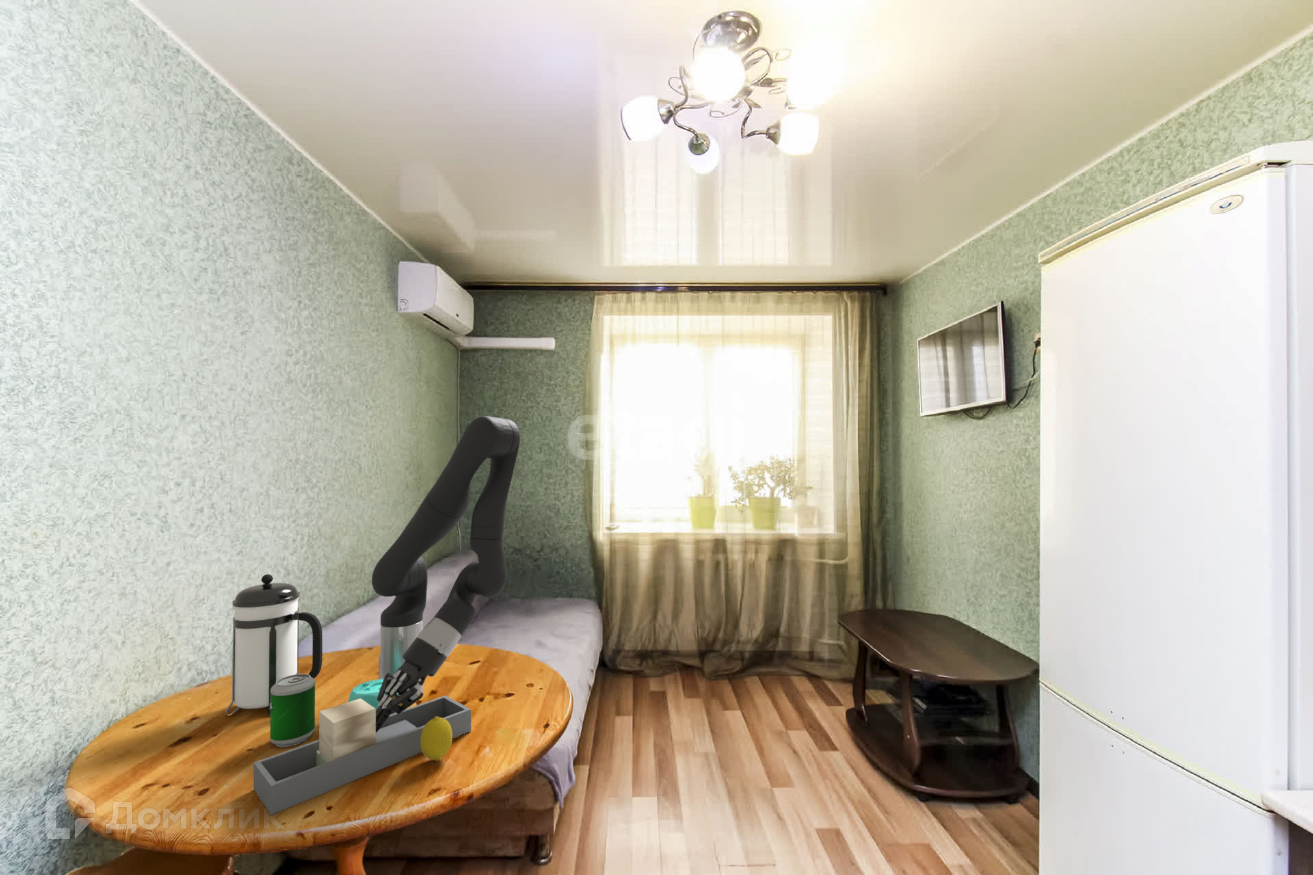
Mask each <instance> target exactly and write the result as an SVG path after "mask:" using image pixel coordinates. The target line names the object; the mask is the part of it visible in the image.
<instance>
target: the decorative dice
mask: <svg viewBox="0 0 1313 875" xmlns="http://www.w3.org/2000/svg"><path fill="white" fill-rule="evenodd" d="M383 680H384V679H379V678H378V679H373V680H372V679H371V680H367V681H364V682H361V683H359V684H357V685H356V686H354V687H353V688H352V689H351V691H350V694H349V697H348V701H347V702H350V701H354V700H357V699H360V698H361V699H362V700H364V701H365V702H366V703H368V704H369V705H371V706H372V707H374V708H375V709H376V710H377V709H378V707H379V706H378V704H379V701H378V700H377V697H378V694H379V691H380V688H381V686H382V683H383ZM397 694H398V693H397ZM384 695H385V694H384Z"/></svg>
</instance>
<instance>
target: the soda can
mask: <svg viewBox="0 0 1313 875" xmlns="http://www.w3.org/2000/svg"><path fill="white" fill-rule="evenodd" d="M308 674H309V673H298V674H296V675H290V676H287V677H284V678H281V679H279V680H278V681H277V682H276V684H275V685H273V686H272V688H271V700H270V715H269V716H270V720H269V721H270V722H269V724H270V726H269V741H270V742H271V743H272V744H273V745H275V746H276V747H277V746H278V747H277V748H290V747H294V746H298V745H300V744H302V743H305V742H306V741H308V739H310V737H311V736H312V734H313V733H314V732H315V730H316V713H315V712H316V679H315V678H312V677H310V675H308ZM301 742H302V743H301ZM299 743H300V744H299ZM297 744H298V745H297ZM293 745H294V746H293ZM289 746H290V747H289Z"/></svg>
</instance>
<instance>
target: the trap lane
mask: <svg viewBox="0 0 1313 875" xmlns="http://www.w3.org/2000/svg"><path fill="white" fill-rule="evenodd" d="M437 716H438V717H439V718H444V719H446V720H447V721H448V722H449V724H450V726H451V729H452V738H455V739H457V738H458V737H457V736H460V735H462V734H464V735H466V734H465V733H467V732H469V733H471V732H472V709H471V708H469V707H467V706H465V705H464V704H463V703H460V702H458V701H456V700H455V699H453V698H451V697H449V696H447V695H442V696H440V697H437V698H434V699H432V700H429V701H428V700H427V701H425V702H422V703H420V704H418V705H415V706H410V707H408V708H407V709H405V710H404V711H403V712H401V713H400V714H397V713H394V714H391V715H390V716H389V717H388V718H387V720H386V721H385V722H384V724H383V725H382V727H381V728H380V729H379V730H378V732H376V744H374V745H371V746H369V747H366V748H363V749H361V750H358V751H355V752H353V753H350V754H348V755H345V756H342V757H340V758H337V759H334V760H332V761H329V762H328V761H326V760H325V759H324V758H323V757H322V756H321V755H320V754H319V739H317V740H314V741H312V742H309V743H305V744H303V745H300V746H296V747H294V748H291V749H289V750H286V751H282V752H280V753H277V754H275V755H272V756H268V757H265V758H263V759H259V760H258V761H255V762H253V779H252V780H253V789H254V790H255V791H254V790H253V789H252V790H253V791H254V793H255V794H256V793H257V794H258V795H257V794H256V795H257V797H258V796H259V797H258V799H259V800H260V801H261V802H262V804H263V806H264V807H265V808H266V810H267V812H269V814H270V816H272V815H275V814H277V813H280V812H283V811H285V810H286V809H289V808H292V807H294V806H296V805H298V804H299V805H300V804H301V803H303V802H306V801H308V800H311V799H313V798H316V797H319V796H320V795H323V794H325V793H327V792H330V791H332V790H334V789H336V788H339V787H342V786H345V785H347V784H349V783H352V782H354V781H356V780H359V779H360V778H363V777H366V776H368V775H371V774H374V773H375V772H377V771H380V770H383V769H385V768H388V767H389V766H390V767H391V766H392V765H394V764H397V763H399V762H402V761H404V760H406V759H409V758H411V757H414V756H417V755H418V753H419V754H421V753H423V752H422V750H421V745H420V739H421V734H422V731H423V728H424V726H425V725H426V724H427V723H428V722H429V721H430V720H432V719H434V718H435V717H437ZM470 731H471V732H470ZM467 734H468V733H467ZM462 736H463V735H462ZM456 737H457V738H456ZM460 737H461V736H460Z"/></svg>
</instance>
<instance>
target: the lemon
mask: <svg viewBox="0 0 1313 875" xmlns="http://www.w3.org/2000/svg"><path fill="white" fill-rule="evenodd" d="M452 743H453V739H452V729H451V726H450V724H449V722H448V721H447V720H446V719H444V718H439V717H438V716H437V717H435V718H434V719H432V720H430V721H429V722H428V723H427V724H426V725H425V726H424V728H423V731H422V734H421V739H420V745H421V750H422V752H421V753H422V754H423V755H424V757H425V758H427V759H429V760H433V761H434V762H438V761H439V760H440V759H441V758H443V757H444V756H446V754H447V753H448V752H449V751H450V749H451V746H452Z"/></svg>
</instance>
